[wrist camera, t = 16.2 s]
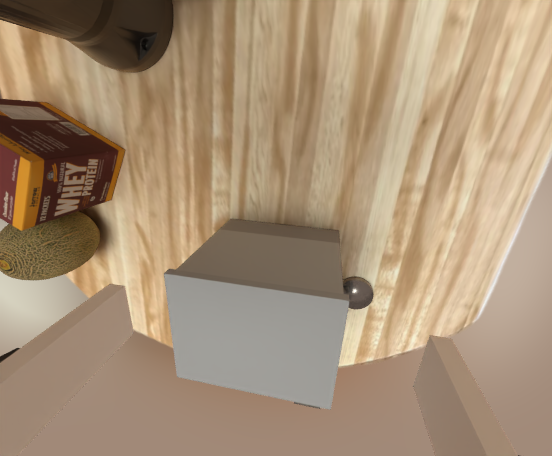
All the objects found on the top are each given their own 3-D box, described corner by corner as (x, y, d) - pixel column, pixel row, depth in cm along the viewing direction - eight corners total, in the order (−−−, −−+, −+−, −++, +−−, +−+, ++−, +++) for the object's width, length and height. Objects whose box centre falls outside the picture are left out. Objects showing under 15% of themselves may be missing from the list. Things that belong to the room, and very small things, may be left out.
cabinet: (229, 295, 51) (178, 383, 34) (228, 216, 45) (163, 273, 28) (329, 311, 48) (329, 416, 31) (341, 228, 42) (349, 301, 25)
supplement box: (112, 201, 49) (21, 232, 34) (38, 156, 48) (-86, 170, 34) (127, 150, 44) (30, 162, 30) (46, 101, 44) (-91, 89, 30)
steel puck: (334, 298, 47) (334, 303, 46) (343, 272, 45) (344, 277, 44) (365, 307, 47) (366, 312, 45) (376, 281, 45) (378, 286, 43)
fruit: (65, 246, 54) (-24, 287, 41) (57, 193, 50) (-45, 219, 36) (116, 259, 53) (41, 306, 39) (112, 206, 49) (27, 238, 35)
